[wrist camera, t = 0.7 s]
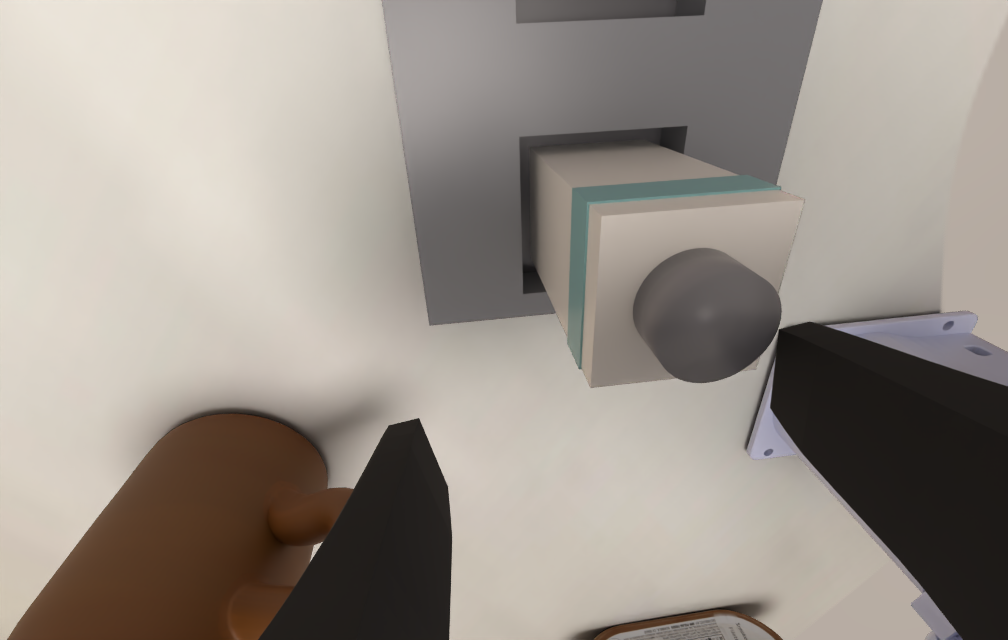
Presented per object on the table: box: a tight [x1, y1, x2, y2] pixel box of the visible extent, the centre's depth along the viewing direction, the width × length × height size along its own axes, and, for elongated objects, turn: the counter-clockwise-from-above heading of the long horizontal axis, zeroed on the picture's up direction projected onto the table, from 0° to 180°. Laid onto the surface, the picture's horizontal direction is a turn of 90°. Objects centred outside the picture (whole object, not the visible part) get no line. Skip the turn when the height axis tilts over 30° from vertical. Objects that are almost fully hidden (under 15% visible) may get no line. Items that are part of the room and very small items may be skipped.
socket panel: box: [382, 0, 823, 325], centre depth 14 cm, size 12×15×2 cm
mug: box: [7, 414, 354, 640], centre depth 17 cm, size 12×8×9 cm, turn 116°
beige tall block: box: [529, 140, 805, 388], centre depth 12 cm, size 4×4×9 cm
